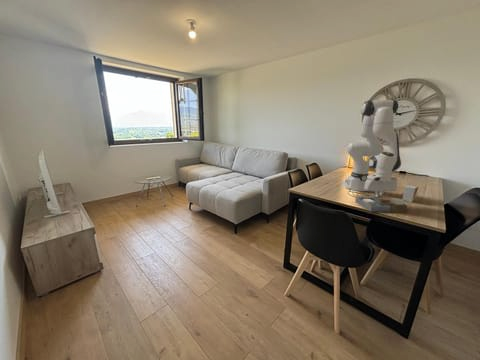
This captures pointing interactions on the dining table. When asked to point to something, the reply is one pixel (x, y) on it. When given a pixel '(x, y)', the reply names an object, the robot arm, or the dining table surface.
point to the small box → (410, 193)
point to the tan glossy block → (393, 205)
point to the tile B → (396, 201)
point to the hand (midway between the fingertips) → (378, 196)
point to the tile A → (369, 201)
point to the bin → (377, 207)
